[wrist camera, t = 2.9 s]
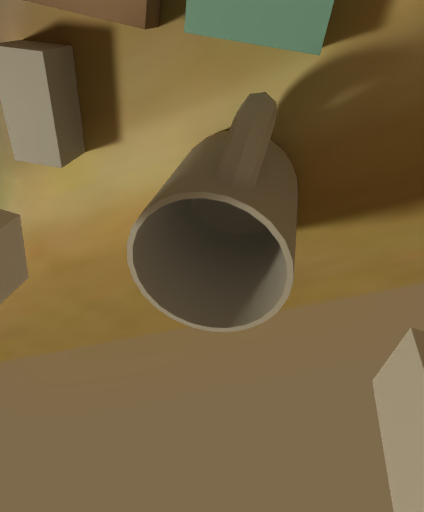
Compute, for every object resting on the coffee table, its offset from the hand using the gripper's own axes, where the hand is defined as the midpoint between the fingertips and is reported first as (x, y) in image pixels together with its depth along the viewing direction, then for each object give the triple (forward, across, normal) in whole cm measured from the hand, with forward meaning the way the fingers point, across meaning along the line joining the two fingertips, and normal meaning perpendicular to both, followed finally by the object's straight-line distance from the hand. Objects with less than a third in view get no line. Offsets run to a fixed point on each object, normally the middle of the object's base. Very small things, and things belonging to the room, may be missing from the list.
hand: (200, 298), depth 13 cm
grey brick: (+12, -12, +1) cm, 17 cm away
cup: (+12, 0, 0) cm, 12 cm away
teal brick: (+12, -1, +8) cm, 15 cm away
